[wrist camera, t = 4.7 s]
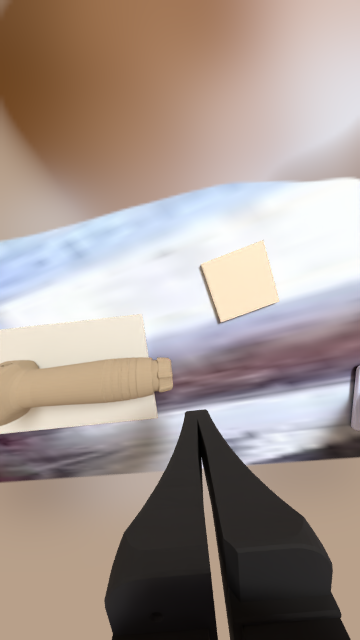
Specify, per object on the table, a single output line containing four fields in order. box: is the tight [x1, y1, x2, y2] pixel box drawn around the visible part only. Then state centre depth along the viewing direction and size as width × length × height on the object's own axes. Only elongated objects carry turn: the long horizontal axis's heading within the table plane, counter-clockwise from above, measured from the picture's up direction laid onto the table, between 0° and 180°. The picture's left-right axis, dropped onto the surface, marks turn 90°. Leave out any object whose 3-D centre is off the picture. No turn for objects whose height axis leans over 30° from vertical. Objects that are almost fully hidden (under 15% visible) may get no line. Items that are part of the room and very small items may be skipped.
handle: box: [0, 357, 173, 426], centre depth 17 cm, size 5×6×15 cm
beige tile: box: [201, 240, 279, 322], centre depth 18 cm, size 6×6×1 cm
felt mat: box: [0, 314, 158, 434], centre depth 20 cm, size 20×12×1 cm, turn 96°
